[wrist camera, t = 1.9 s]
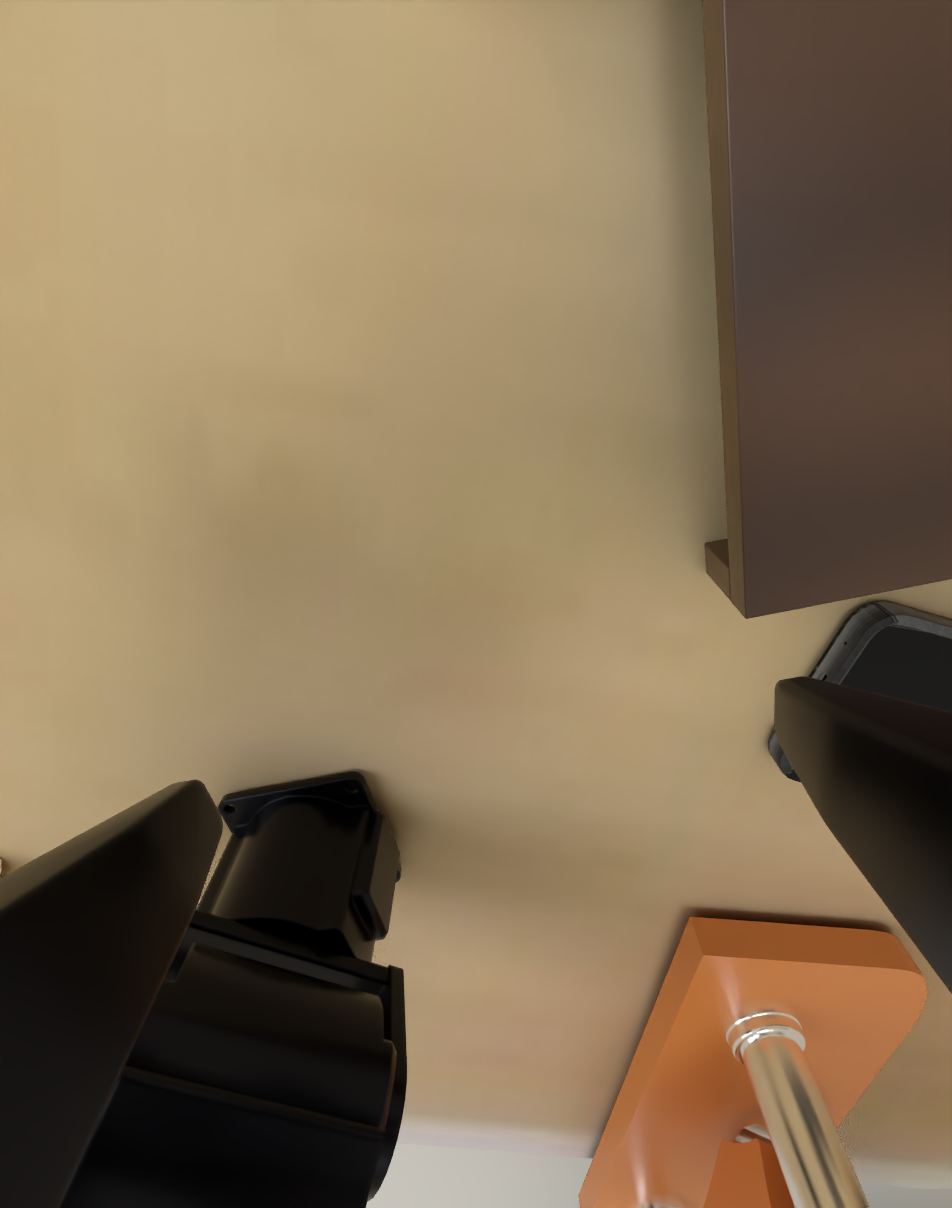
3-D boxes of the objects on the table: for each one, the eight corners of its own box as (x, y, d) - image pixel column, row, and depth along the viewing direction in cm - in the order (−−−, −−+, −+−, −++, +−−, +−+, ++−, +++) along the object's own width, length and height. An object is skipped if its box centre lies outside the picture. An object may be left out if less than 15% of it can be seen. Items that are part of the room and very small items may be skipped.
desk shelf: (1069, 499, 20) (1180, 535, 17) (706, 573, 21) (745, 619, 18) (1250, -340, 12) (1522, -569, 9) (657, -142, 13) (712, -281, 10)
